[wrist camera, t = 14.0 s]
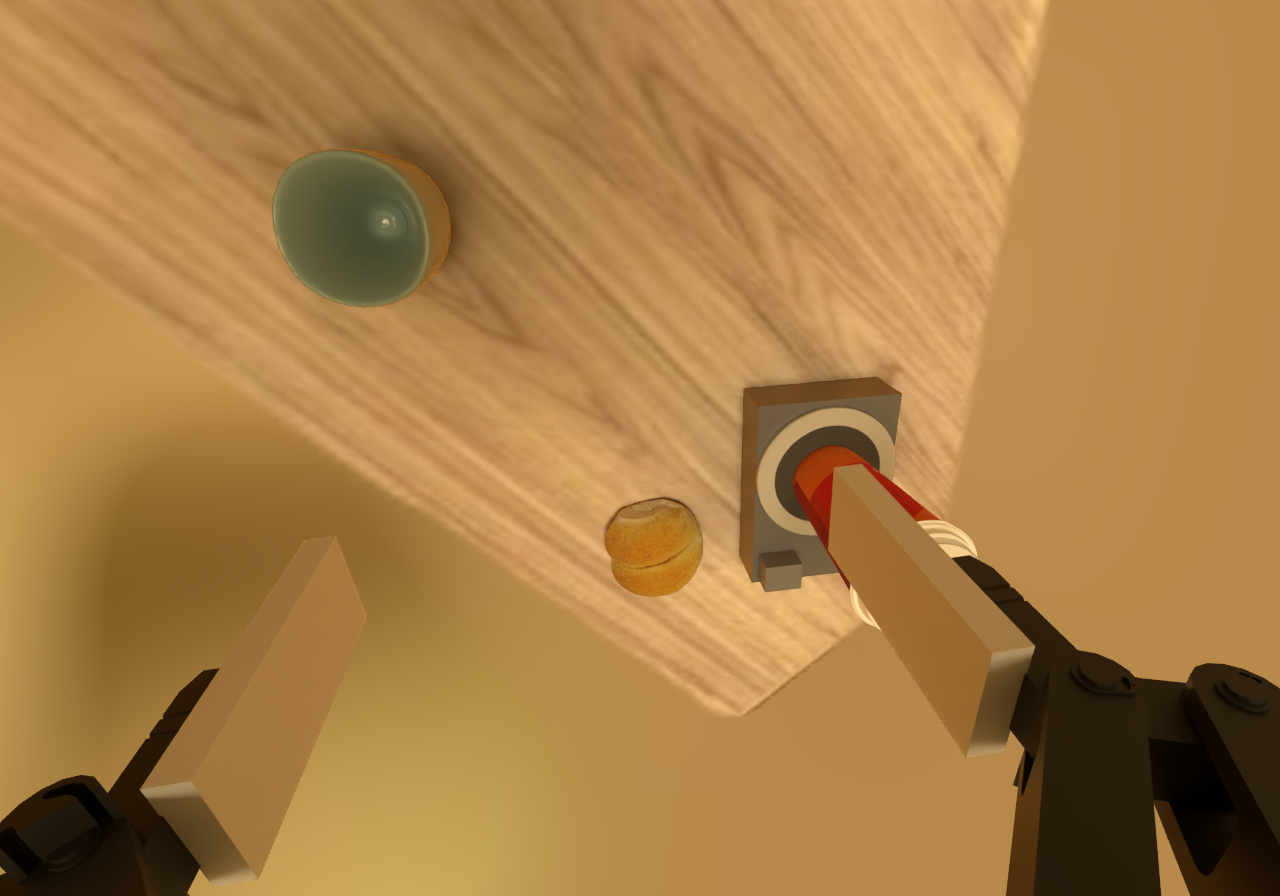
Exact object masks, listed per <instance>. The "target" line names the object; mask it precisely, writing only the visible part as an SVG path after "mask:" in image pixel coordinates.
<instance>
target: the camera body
mask: <svg viewBox="0 0 1280 896" xmlns="http://www.w3.org/2000/svg"><path fill="white" fill-rule="evenodd" d="M901 397H902V393H900V392H899V391H897V390H896V389H894V388H893V387H891V386H890V385H888V384H886V383H885V382H883V381H882V380H880V379H879V378H877V377H872V378H860V379H849V380H837V381H826V382H815V383H803V384H792V385H780V386H769V387H758V388H746V389H744V399H743V437H742V475H741V513H740V551H739V555H740V558H741V560H742V562H743V564H744V566H745V569H746V571H747V573H748V575H749V577H750V579H751V582H752V583H753V582H760V583H761V585H762V587H763V589H764V591H765V592H772V591H780V590H789V589H797V588H801V579H802V577H805V576H813V575H822V574H831V573H839V572H838V570H837V568H836V566H835V565H834V563H833V561H832V560H831V558H830V556H829V554H828V553H827V551H826V549H825V547H824V546H823V544H822V542H821V540H820V539H819V537H818V535H817V533H816V532H815V530H814V528H813V526H812V525H811V523H810V521H809V519H808V518H807V516H806V514H805V512H804V511H803V509H802V507H801V505H800V503H799V501H798V499H797V497H796V495H795V493H794V489H793V476H794V473H795V470H796V468H797V466H798V465H799V463H800V462H801V461H802V460H803V458H804V457H806V456H807V455H808V454H809V453H811V452H812V451H814V450H816V449H818V448H821V447H824V446H830V445H837V446H842V447H845V448H848V449H850V450H851V451H853V452H854V453H856V454H857V455H859V456H860V457H861V458H863V459H864V460H865V461H867V462H868V463H869V464H870V465H872V466H873V467H874V468H875V469H877V470H878V471H879V472H881V473H882V474H883V475H884V476H886V477H887V478H888V479H889V480H891V481H892V480H893V477H894V472H895V466H896V453H895V448H894V445H895V438H896V431H897V424H898V418H899V411H900V404H901Z"/></svg>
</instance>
